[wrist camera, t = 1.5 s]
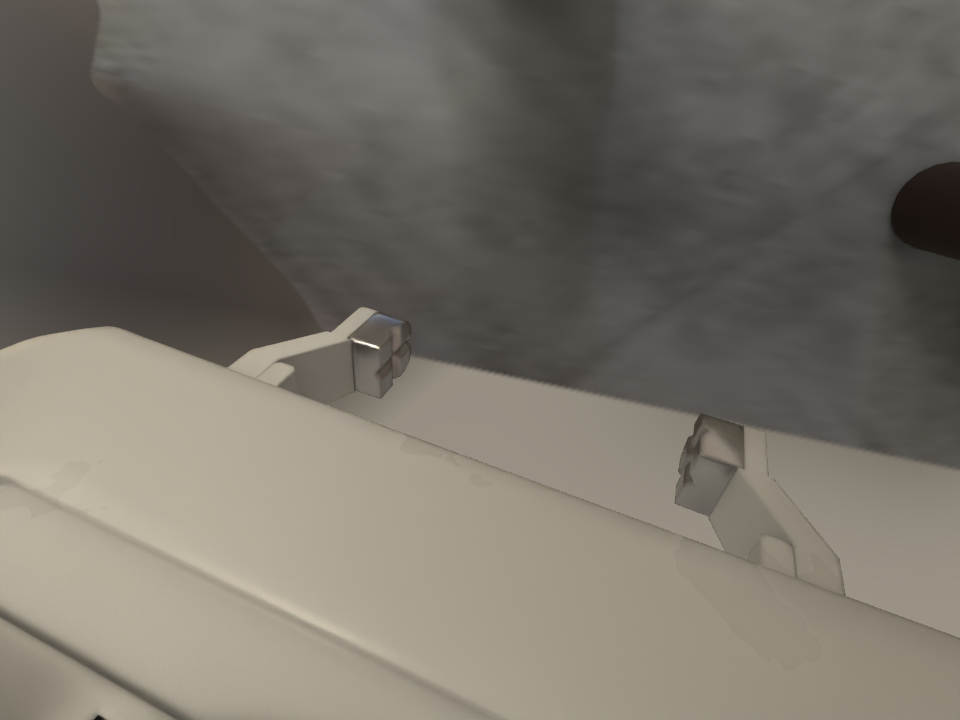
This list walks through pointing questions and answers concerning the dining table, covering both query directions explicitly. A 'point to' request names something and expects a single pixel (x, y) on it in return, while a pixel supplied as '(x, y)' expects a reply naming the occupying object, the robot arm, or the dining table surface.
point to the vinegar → (931, 210)
